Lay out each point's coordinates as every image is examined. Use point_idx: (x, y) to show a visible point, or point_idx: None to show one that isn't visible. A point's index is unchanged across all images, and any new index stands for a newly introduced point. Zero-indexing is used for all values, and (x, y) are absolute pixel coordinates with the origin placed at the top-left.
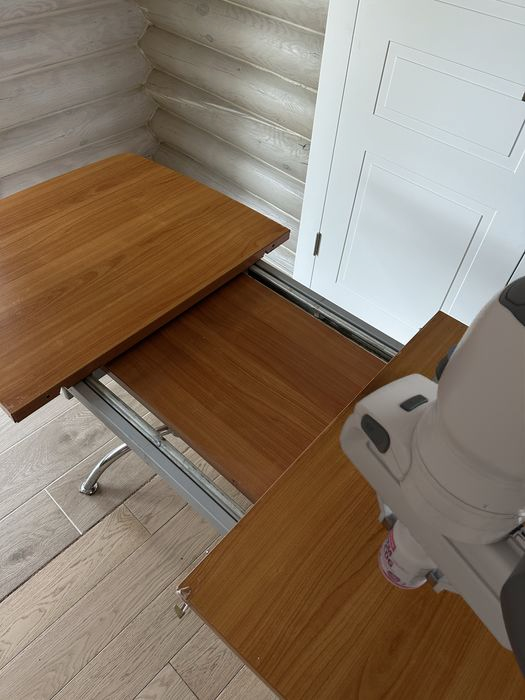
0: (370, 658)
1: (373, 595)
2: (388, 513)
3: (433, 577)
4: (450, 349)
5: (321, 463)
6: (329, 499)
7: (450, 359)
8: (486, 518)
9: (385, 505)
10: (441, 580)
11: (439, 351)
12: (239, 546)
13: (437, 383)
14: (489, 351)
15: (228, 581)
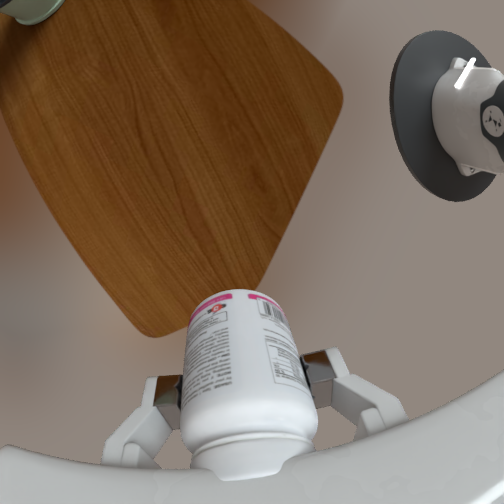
0: (260, 213)
1: (206, 178)
2: (166, 430)
3: (321, 406)
4: None
5: (48, 173)
6: (88, 180)
7: None
8: None
9: (155, 452)
10: (338, 410)
11: None
12: (119, 291)
13: (1, 9)
14: None
15: (149, 309)
